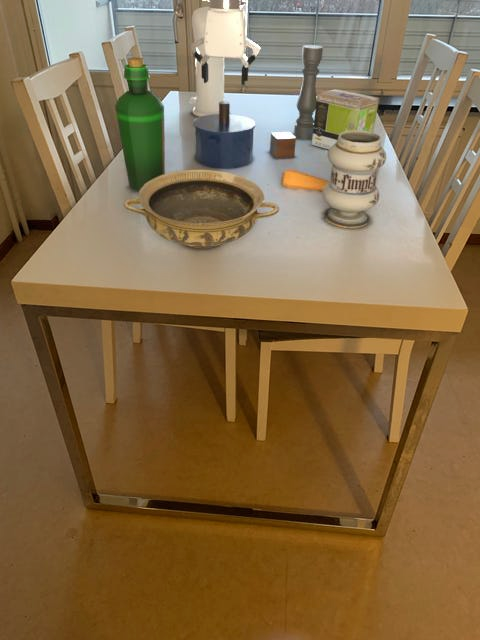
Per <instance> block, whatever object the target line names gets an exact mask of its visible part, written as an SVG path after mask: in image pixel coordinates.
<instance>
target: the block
mask: <svg viewBox="0 0 480 640" xmlns="http://www.w3.org/2000/svg"><path fill="white" fill-rule="evenodd" d="M269 143H270V144H269V153H270V154H271V155H272V156H273V158H275V159H276V160H281V159H293V158H295V153H296V144H297V138H296V137H294V134H292V133H291V132H290V131H283V132H282V131H281V132H271V133H270V142H269Z"/></svg>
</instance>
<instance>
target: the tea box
mask: <svg viewBox="0 0 480 640" xmlns="http://www.w3.org/2000/svg"><path fill="white" fill-rule="evenodd" d="M316 99H317V101H316V109H315V111H314V118H313V119H314V123H313V124H314V128H313V137H312V138H311V146H315V147H318V148H322V149H325V150H329V149H330V147H331V146H332V145H333V144H335V143H336V142H337V140H338V137H339V135H340V133H342V132H345V131H351V130H360V131H367V132H372V133H374V130H375V124H376V118H377V113H378V108H379V103H380V97H377V96H373V95H368V94H362V93H357V92H354V91H353V92H352V91H347V90H342V89H337V88H334V89H331V90H328V91H323V92H320V93H319V92H318V93H316Z"/></svg>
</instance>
